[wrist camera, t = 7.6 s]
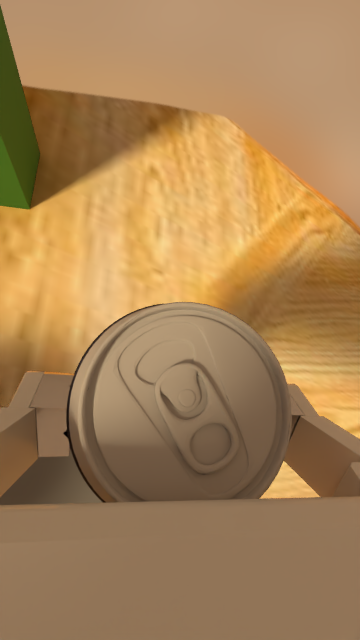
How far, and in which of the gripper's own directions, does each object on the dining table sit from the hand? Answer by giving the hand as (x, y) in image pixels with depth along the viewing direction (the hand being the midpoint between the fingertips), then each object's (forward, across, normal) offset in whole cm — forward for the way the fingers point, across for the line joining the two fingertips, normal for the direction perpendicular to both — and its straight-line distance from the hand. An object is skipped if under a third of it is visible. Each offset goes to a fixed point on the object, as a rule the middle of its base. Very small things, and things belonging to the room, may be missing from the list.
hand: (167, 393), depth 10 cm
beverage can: (+6, 0, +6) cm, 9 cm away
